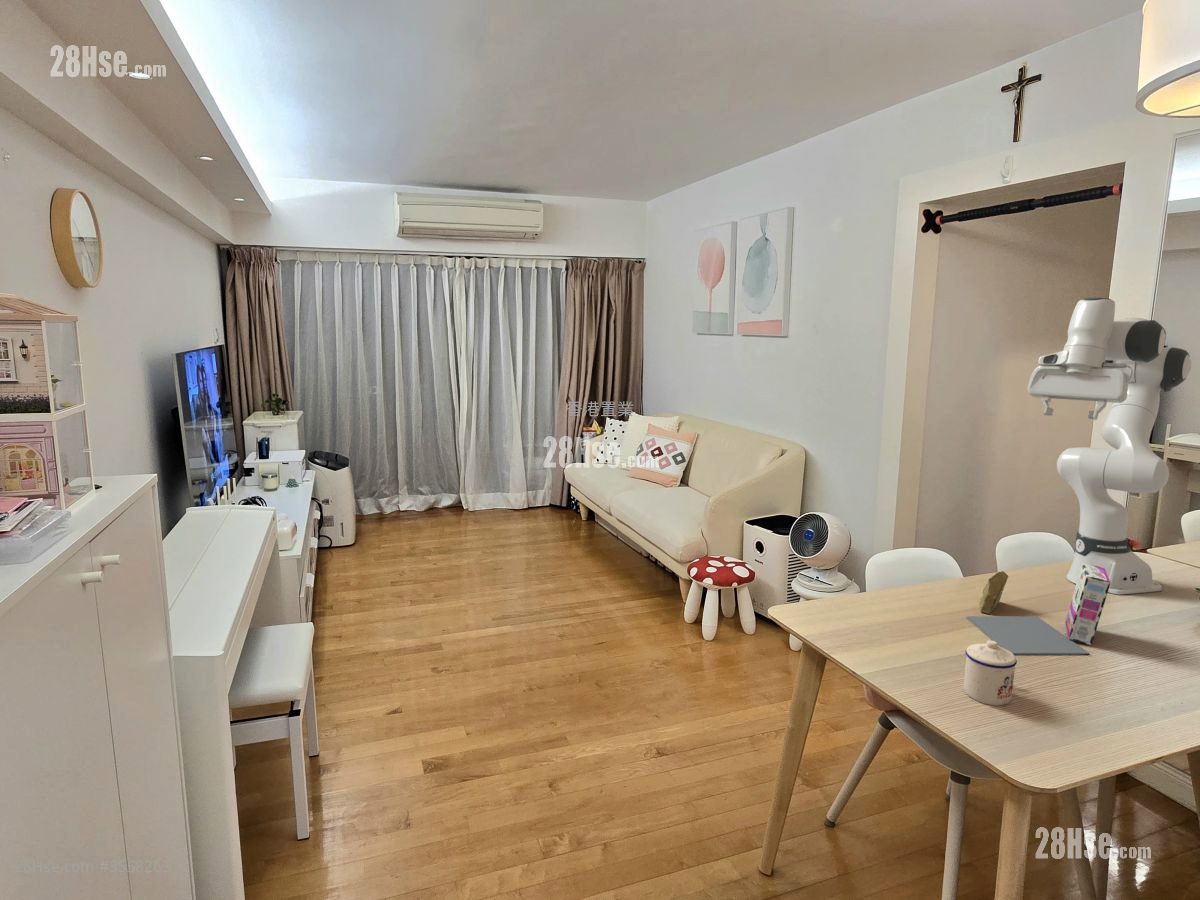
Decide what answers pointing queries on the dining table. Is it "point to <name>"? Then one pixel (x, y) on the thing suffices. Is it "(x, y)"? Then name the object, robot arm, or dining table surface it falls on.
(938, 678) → the dining table surface
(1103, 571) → the candy bar box
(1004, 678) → the teacup with lid
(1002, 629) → the mat
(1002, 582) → the rock
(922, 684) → the dining table surface
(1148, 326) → the robot arm
